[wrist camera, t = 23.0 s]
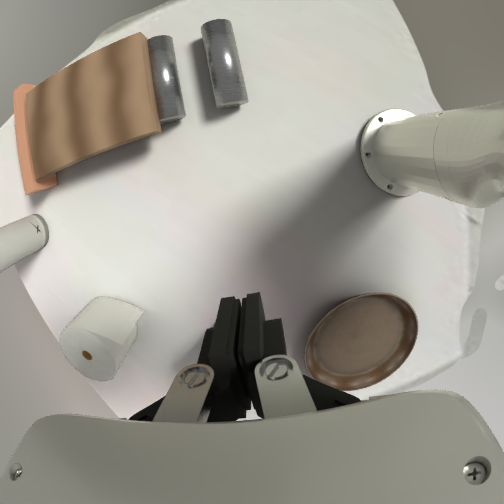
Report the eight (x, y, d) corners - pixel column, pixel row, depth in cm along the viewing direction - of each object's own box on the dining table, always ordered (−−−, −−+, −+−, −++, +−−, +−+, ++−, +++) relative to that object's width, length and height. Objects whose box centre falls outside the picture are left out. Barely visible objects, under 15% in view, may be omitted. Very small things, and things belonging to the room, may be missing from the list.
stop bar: (45, 87, 31) (23, 83, 25) (58, 184, 36) (35, 190, 31) (35, 93, 31) (13, 90, 25) (48, 188, 37) (25, 195, 31)
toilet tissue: (82, 326, 45) (57, 357, 36) (95, 278, 42) (64, 307, 32) (129, 355, 47) (109, 390, 37) (148, 311, 43) (125, 347, 34)
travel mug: (50, 215, 38) (-36, 256, 19) (49, 251, 40) (-28, 301, 21) (27, 208, 38) (-54, 243, 19) (27, 242, 40) (-47, 286, 21)
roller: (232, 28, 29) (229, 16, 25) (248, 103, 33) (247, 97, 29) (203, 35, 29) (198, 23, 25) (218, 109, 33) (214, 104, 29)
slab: (147, 38, 26) (140, 31, 24) (161, 132, 31) (154, 131, 28) (36, 95, 28) (26, 93, 25) (46, 177, 32) (35, 179, 30)
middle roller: (177, 39, 29) (161, 32, 25) (191, 115, 33) (174, 113, 29) (154, 50, 30) (137, 45, 27) (166, 124, 34) (149, 123, 31)
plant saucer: (294, 299, 42) (297, 310, 39) (414, 272, 41) (423, 280, 38) (307, 388, 49) (309, 400, 46) (405, 363, 47) (411, 373, 44)
